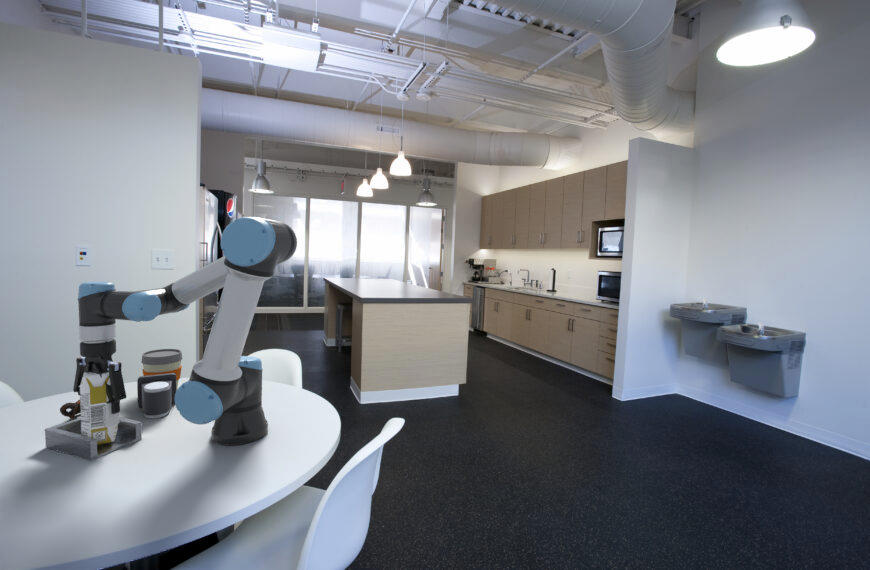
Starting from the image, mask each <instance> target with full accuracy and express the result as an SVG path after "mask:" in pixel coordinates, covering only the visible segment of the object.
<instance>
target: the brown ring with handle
mask: <svg viewBox="0 0 870 570" xmlns="http://www.w3.org/2000/svg"><path fill="white" fill-rule="evenodd" d="M69 409H70V410H69ZM68 410H69V411H68ZM59 413H60V414H61V415H62V416H63V417H67V418H69V419H70V420H75V416H77V415H78V414H81V407H80V398H79V399H78V400H77V401H76V402H66V403H64V404H63V405H62V406H61V407H60V408H59Z"/></svg>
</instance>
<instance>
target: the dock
mask: <svg viewBox="0 0 870 570" xmlns="http://www.w3.org/2000/svg"><path fill="white" fill-rule="evenodd" d="M44 433H45V434H44V438H45V448H46V447H47V448H46V449H49V448H50V450H53V449H54V450H53V451H56V450H58V451H57V452H59V451H61V452H60V453H63V452H64V454H66V453H67V454H66V455H71V456H74V457H75V458H76V457H77V458H81V459H83V460H88V461H93V460H96V459H98V458H101V457H103V456H106V455H108V454H110V453H113V452H115V451H118V450H120V449H122V448H124V447H126V446H129V445H131V444H134V443H135V442H139V441H141V440H142V439H143V438H142V436H143V435H142V433H143V432H142V421H138V420H134V419H130V418H126V417H122V416H120V423H118V429H117V433H116V437H115V440H114V441H113V442H109V443H103V444H98V445H97V439H94V438H90V437H87V436H83V435H81V417H79V418H76V419H75V418H74V419H71V420H70V421H67V422H64V423H60V424H58V425H53V426H52V427H51V426H50V427H48V428H45V429H44Z"/></svg>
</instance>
